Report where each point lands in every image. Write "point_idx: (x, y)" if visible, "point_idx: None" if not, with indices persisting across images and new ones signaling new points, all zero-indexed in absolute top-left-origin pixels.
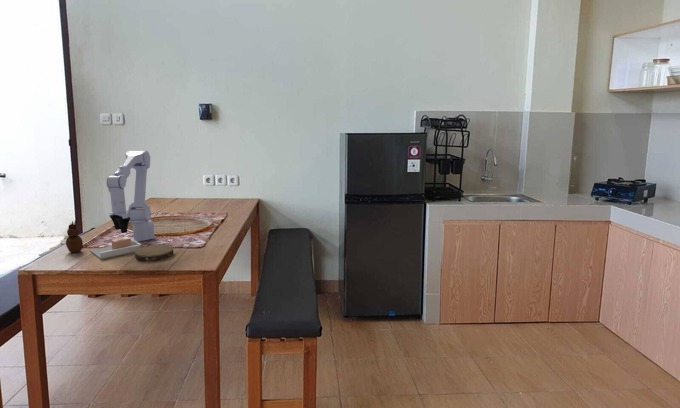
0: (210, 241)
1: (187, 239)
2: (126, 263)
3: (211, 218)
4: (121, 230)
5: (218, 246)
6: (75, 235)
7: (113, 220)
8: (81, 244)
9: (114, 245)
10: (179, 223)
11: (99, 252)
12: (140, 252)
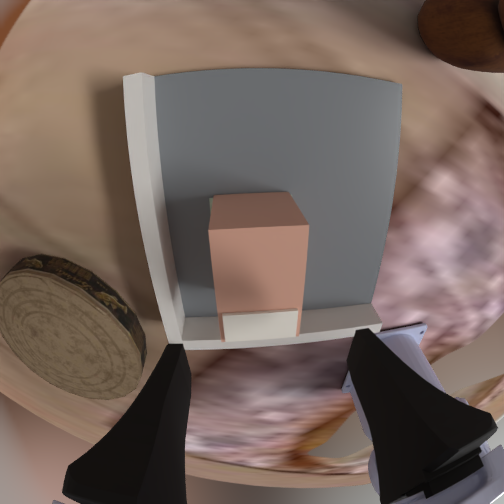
0: None
1: (236, 438)
2: (5, 201)
3: None
4: (157, 365)
5: None
6: (501, 14)
7: (410, 410)
8: (448, 47)
9: (228, 213)
10: None
11: (307, 105)
12: (37, 296)
